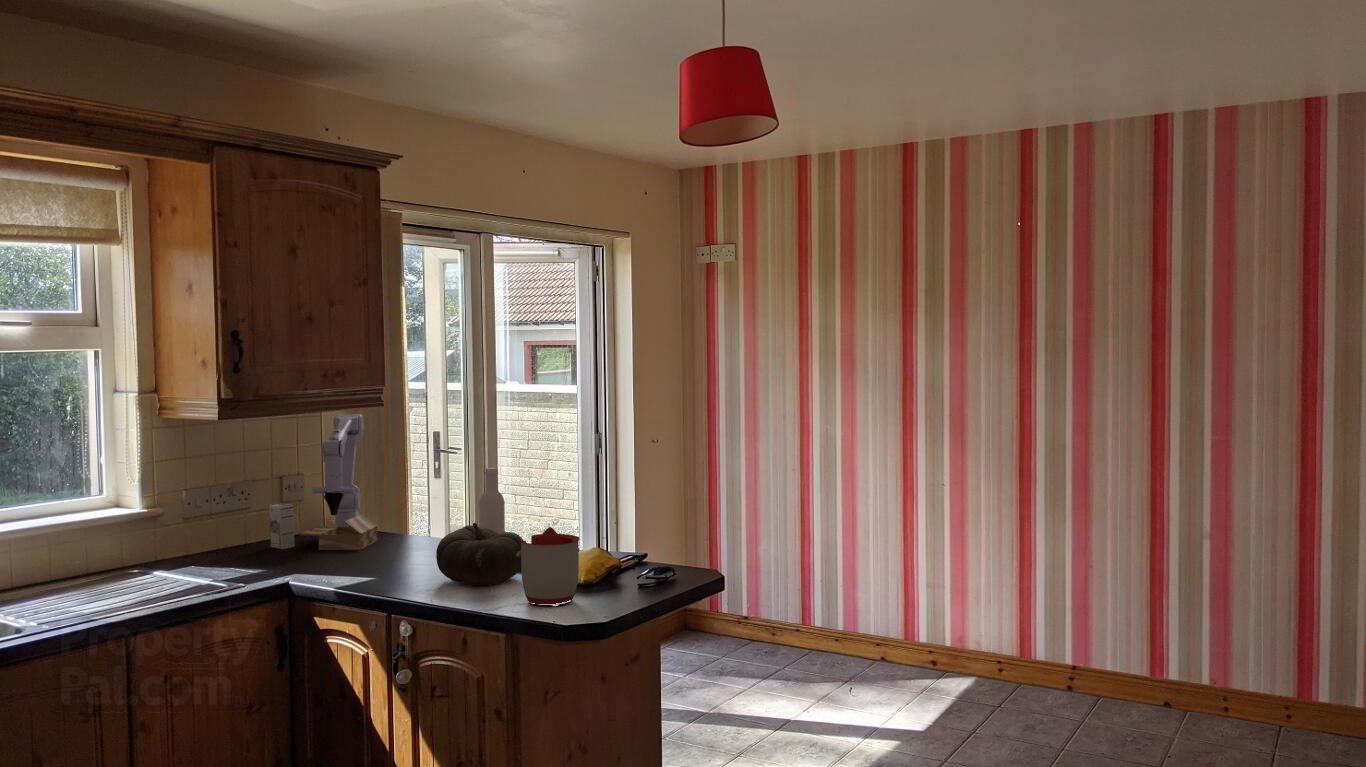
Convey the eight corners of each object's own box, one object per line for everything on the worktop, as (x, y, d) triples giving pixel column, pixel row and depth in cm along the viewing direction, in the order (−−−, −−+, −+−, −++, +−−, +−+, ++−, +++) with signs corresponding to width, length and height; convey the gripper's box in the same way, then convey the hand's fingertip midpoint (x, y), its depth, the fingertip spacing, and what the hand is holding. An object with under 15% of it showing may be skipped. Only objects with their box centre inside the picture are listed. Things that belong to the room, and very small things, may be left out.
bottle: (475, 566, 320) (474, 469, 319) (485, 561, 328) (485, 466, 327) (499, 567, 318) (498, 470, 317) (509, 562, 326) (508, 467, 325)
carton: (318, 540, 363) (318, 526, 363) (377, 541, 362) (377, 527, 362) (298, 549, 347) (298, 534, 347) (359, 550, 346) (359, 535, 346)
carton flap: (360, 515, 361) (360, 514, 361) (376, 527, 361) (377, 526, 361) (343, 522, 347) (344, 521, 347) (360, 534, 346) (361, 533, 346)
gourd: (456, 560, 316) (462, 505, 313) (533, 576, 312) (540, 521, 309) (420, 587, 292) (426, 528, 289) (503, 605, 288) (511, 546, 285)
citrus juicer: (533, 592, 286) (532, 520, 285) (590, 598, 279) (589, 524, 279) (503, 605, 271) (502, 529, 270) (562, 612, 265) (562, 533, 264)
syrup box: (295, 546, 352) (294, 504, 351) (280, 549, 347) (279, 506, 346) (284, 545, 355) (283, 502, 354) (269, 547, 350) (268, 505, 349)
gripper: (307, 476, 350) (308, 516, 351) (349, 476, 349) (350, 516, 350) (316, 473, 357) (317, 513, 358) (357, 474, 356) (358, 513, 357)
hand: (334, 514), depth 354 cm, fingers closed
